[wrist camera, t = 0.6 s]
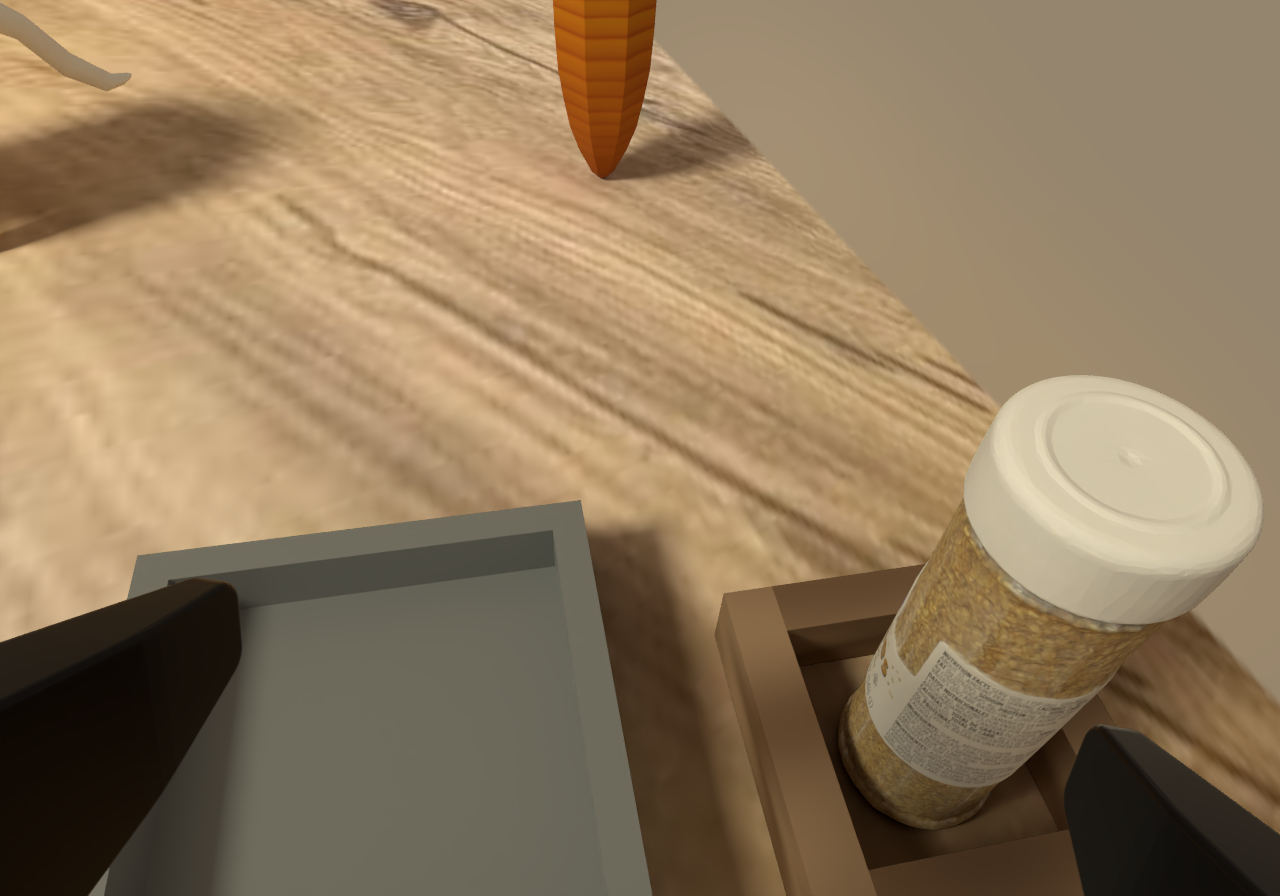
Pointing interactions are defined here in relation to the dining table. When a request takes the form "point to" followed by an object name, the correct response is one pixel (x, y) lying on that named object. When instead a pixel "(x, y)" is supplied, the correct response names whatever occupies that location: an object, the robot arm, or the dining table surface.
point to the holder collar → (802, 769)
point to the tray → (402, 721)
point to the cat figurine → (56, 52)
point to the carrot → (603, 72)
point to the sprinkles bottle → (1044, 588)
